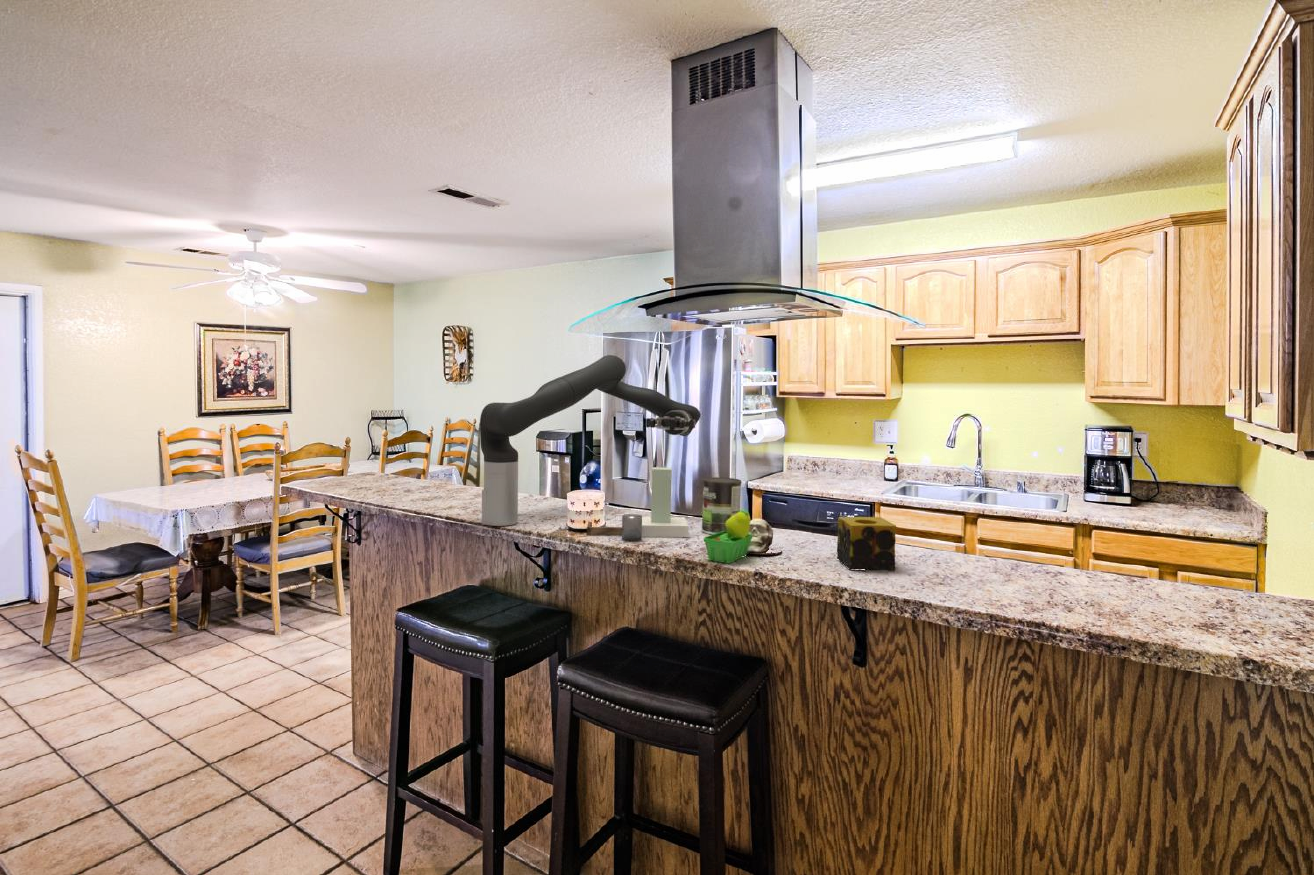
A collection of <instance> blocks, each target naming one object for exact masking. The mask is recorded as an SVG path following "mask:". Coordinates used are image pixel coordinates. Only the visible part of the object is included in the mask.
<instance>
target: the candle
mask: <svg viewBox="0 0 1314 875" xmlns="http://www.w3.org/2000/svg"><path fill="white" fill-rule="evenodd" d="M837 529H838V531H837V542H836V543H837V544H836V553H837V557H836V560H837V559H839V560H840V561H841V562H842V563H843V564H844V565H845V566H847V567H848V568H849V569H865V570H893V571H895V570H896V565H895V564H896V550H895V549H896V540H897V539H896V529H897V525H896V524H895V523H892V522H891V521H889V520H887V519H885V518H883V517H880V516H840V517H837ZM841 562H840V563H841ZM843 564H842V565H843ZM844 565H843V566H844ZM845 566H844V567H845ZM847 567H846V568H847ZM848 568H847V569H848ZM849 569H848V570H849Z"/></svg>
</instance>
